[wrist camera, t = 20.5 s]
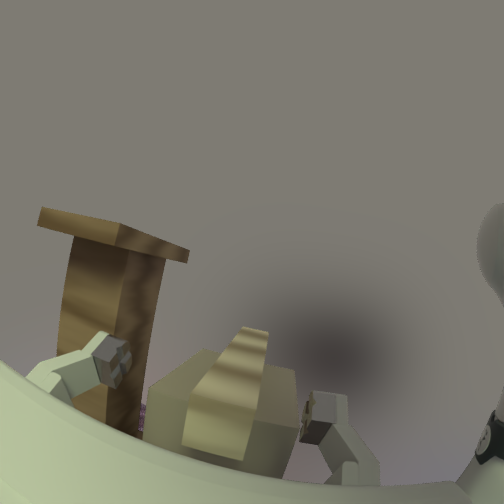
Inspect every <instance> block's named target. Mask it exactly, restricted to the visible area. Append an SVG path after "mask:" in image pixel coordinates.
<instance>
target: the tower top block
mask: <svg viewBox="0 0 504 504" xmlns="http://www.w3.org/2000/svg"><path fill="white" fill-rule="evenodd" d="M221 354H222V353H218V352H214V351H210V350H207V349H202V350H201V351H199V352H198V353H197V354H195V355H194V356H192V357H191V358H190V359H189V360H187V361H186V362H184V363H183V364H182V365H180V366H179V367H178V368H176V369H175V370H173V371H172V372H170V373H169V374H168V375H166V376H165V377H164V378H162V379H161V380H159V381H158V382H156V383H155V384H154V385H152V386H151V387H149V390H148V397H147V404H146V412H145V420H144V429H143V438H142V441H145V442H147V443H150V444H152V445H155V446H158V447H160V448H163V449H166V450H169V451H172V452H174V453H177V454H180V455H183V456H187V457H190V458H193V459H196V460H199V461H203V462H206V463H210V464H214V465H217V466H221V467H225V468H229V469H233V470H237V471H242V472H246V473H251V474H256V475H261V476H267V477H272V478H278V479H282V477H283V474H284V471H285V469H286V466H287V463H288V461H289V458H290V455H291V452H292V449H293V447H294V444H295V441H296V438H297V435H298V432H299V429H300V427H299V415H298V404H297V394H296V383H295V372H294V370H291V369H286V368H281V367H276V366H271V365H267V364H264V366H263V373H262V379H261V385H260V391H259V397H258V403H257V409H256V413H255V417H254V421H253V424H252V428H251V432H250V436H249V439H248V443H247V447H246V450H245V454H244V457H243V461H241V460H237V459H232V458H228V457H224V456H220V455H216V454H212V453H208V452H205V451H201V450H198V449H194V448H191V447H187V446H184V445H181V443H182V437H183V431H184V426H185V420H186V414H187V409H188V403H189V398H190V393H191V392H192V390H193V389H194V388H195V387H196V385H197V384H198V383H199V382H200V380H201V379H202V378H203V377H204V376H205V374H206V373H207V372H208V371H209V369H210V368H211V367H212V366H213V364H214V363H215V362H216V360H217V359H218V358H219V357H220V355H221Z"/></svg>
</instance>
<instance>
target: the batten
mask: <svg viewBox="0 0 504 504" xmlns="http://www.w3.org/2000/svg"><path fill="white" fill-rule="evenodd" d="M268 334H269V332H265V331H261V330H256V329H251V328H247V327H242V329H241V330H240V331H239V332H238V334H237V335H236V336H235V338H234V339H233V340H232V341H231V343H230V344H229V345H228V347H227V348H226V349H225V350H224V352H223V353H222V354H221V355H220V357H219V358H218V359H217V360H216V362H215V363H214V364H213V366H212V367H211V368H210V369H209V371H208V372H207V373H206V374H205V376H204V377H203V378H202V379H201V380H200V382H199V383H198V384H197V385H196V387H195V388H194V389H193V390H192V392H191V393H190V398H189V403H188V409H187V414H186V420H185V426H184V431H183V437H182V443H181V445H184V446H187V447H191V448H194V449H198V450H201V451H205V452H208V453H212V454H216V455H220V456H224V457H228V458H232V459H237V460H241V461H243V457H244V454H245V450H246V447H247V443H248V439H249V436H250V432H251V428H252V424H253V421H254V417H255V413H256V409H257V403H258V397H259V391H260V385H261V379H262V373H263V366H264V360H265V354H266V347H267V341H268Z"/></svg>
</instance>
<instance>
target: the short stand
mask: <svg viewBox="0 0 504 504" xmlns="http://www.w3.org/2000/svg"><path fill="white" fill-rule="evenodd" d="M37 226H40V227H44V228H48V229H51V230H55V231H59V232H63V233H67V234H70V235H74V239H73V243H72V248H71V253H70V258H69V263H68V268H67V274H66V280H65V285H64V292H63V298H62V305H61V313H60V321H59V331H58V342H57V357H58V356H61V355H64V354H67V353H70V352H73V351H77V350H82V349H83V348H84V347H85V346H86V345H87V344H88V343H89V342H90V341H91V339H92V338H93V337H94V336H95V335H96V334H97V333H98V332H99V331H104V332H106V333H109V334H111V335H114V336H116V337H118V338H121V339H123V340H126V341H128V342H130V347H131V348H130V349H129V352H130V353H131V354H132V364H131V367H130V369H129V371H128V372H127V373H126V374H123V375H122V379H123V380H122V381H121V382H120V384H119V385H118V387H117V388H116V389H114V388H112V387H109V386H107V385H105V384H102V383H100V384H99V385H97V386H95V387H93V388H91V389H89V390H87V391H85V392H83V393H82V394H80V395H78V396H76V397H74V398H72V399H71V401H72V403H73V405H74V407H75V409H77V410H79V411H80V412H82V413H84V414H86V415H88V416H90V417H92V418H94V419H96V420H98V421H100V422H102V423H104V424H106V425H108V426H110V427H112V428H114V429H117V430H119V431H121V432H123V433H126V434H128V435H130V436H133V437H135V438H137V439H140V440H142V438H143V432H142V431H139V430H138V425H139V416H140V407H141V399H142V391H143V383H144V376H145V369H146V363H147V356H148V350H149V343H150V337H151V332H152V326H153V321H154V315H155V310H156V305H157V299H158V295H159V290H160V285H161V280H162V276H163V271H164V266H165V262H166V259H170V260H175V261H179V262H183V263H187V261H188V256H189V252H190V251H189V250H187V249H185V248H182V247H180V246H177V245H174V244H172V243H169V242H166V241H164V240H161V239H159V238H156V237H153V236H151V235H149V234H146V233H143V232H141V231H138V230H136V229H133V228H131V227H128V226H126V225H123V224H121V223H117V222H112V221H107V220H102V219H97V218H93V217H88V216H83V215H78V214H73V213H69V212H64V211H59V210H54V209H50V208H45V207H42V209H41V212H40V216H39V220H38V224H37Z"/></svg>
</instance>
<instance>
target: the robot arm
mask: <svg viewBox="0 0 504 504" xmlns="http://www.w3.org/2000/svg"><path fill="white" fill-rule="evenodd" d="M477 257H478V263H479V266H480V270H481V272H482V275H483V277H484V278H485V280H486V282H487V283H488V284H489V286H490V287H491V288H492V289H493V290H494V291H495V293H496V294H497V296H498V297H499V299H500V301H501V302H502V304H503V306H504V203H502V204H496V205H494V206H493V207H492V208H491V209H490V211H489V212H488V213H487V215H486V216H485V218H484V220H483V222H482V224H481V226H480V230H479V233H478V238H477ZM130 348H131V347H130V342H128V341H126V340H123V339H121V338H118V337H116V336H114V335H111V334H109V333H106V332H104V331H99V332H98V333H97V334H96V335H95V336H94V337H93V338H92V339H91V341H90V342H89V343H88V344H87V345H86V346H85V347H84V348H83V349H82V350H77V351H73V352H70V353H67V354H64V355H61V356H58V357H55V358H52V359H49V360H46V361H43V362H40V363H39V364H38V365H37V366H36V367H35V368H34V369H33V370H32V371H31V372H30V373H29V374H28V375H27V376H26V377H24V376H22V375H21V374H19V373H18V372H17V371H15V370H14V369H12V368H11V367H10V366H8V365H7V364H6V363H4V362H3V361H2V360H1V359H0V504H504V387H503V390H502V394H501V397H500V400H499V403H498V405H497V408H496V410H494V411H493V412H492V414H491V416H490V418H489V421H488V423H487V425H486V427H485V429H484V431H483V433H482V435H481V437H480V440H479V442H478V445H477V448H476V451H475V455H474V457H473V458H472V460H471V462H470V463H469V465H468V466H467V468H466V469H465V471H464V472H463V473H462V475H461V476H460V477H459V479H458V480H457V481H456V482H455V483H454V482H452V481H442V482H435V483H425V484H414V485H397V486H380V466H379V461H378V460H377V459H376V457H375V456H374V455H373V453H372V452H371V451H370V449H369V448H368V447H367V446H366V444H365V443H364V441H363V440H362V439H361V438H360V436H359V435H358V433H357V432H356V431H355V429H354V428H353V427H352V426H350V425H348V399H347V396H346V395H341V394H334V393H327V392H321V391H314V390H313V391H312V392H311V393H310V395H309V401H307V402H306V404H305V407H304V410H303V415H302V423H303V426H302V428H301V431H300V439H299V442H302V443H308V444H314V445H318V447H319V449H320V451H321V453H322V455H323V457H324V459H325V461H326V462H327V464H328V466H329V468H330V470H331V472H332V474H333V475H332V476H331V477H330V478H329V479H328V480H327V481H326V482H325V483H324V484H317V483H308V482H299V481H292V480H285V479H278V478H272V477H267V476H261V475H256V474H251V473H246V472H242V471H237V470H233V469H229V468H225V467H221V466H217V465H214V464H210V463H206V462H203V461H199V460H196V459H193V458H190V457H187V456H183V455H180V454H177V453H174V452H172V451H169V450H166V449H163V448H160V447H158V446H155V445H152V444H150V443H147V442H145V441H142V440H140V439H137V438H135V437H133V436H130V435H128V434H126V433H123V432H121V431H119V430H117V429H114V428H112V427H110V426H108V425H106V424H104V423H102V422H100V421H98V420H96V419H94V418H92V417H90V416H88V415H86V414H84V413H82V412H80V411H79V410H77V409H75V407H74V405H73V403H72V401H71V399H72V398H74V397H76V396H78V395H80V394H82V393H83V392H85V391H87V390H89V389H91V388H93V387H95V386H97V385H99V384H100V383H102V384H105V385H107V386H109V387H112V388H114V389H116V388H117V387H118V385H119V384H120V382H121V381H122V380H123V379H122V375H123V374H126V373H127V372H128V371H129V369H130V367H131V364H132V354H131V353H130V352H129V349H130Z"/></svg>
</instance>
